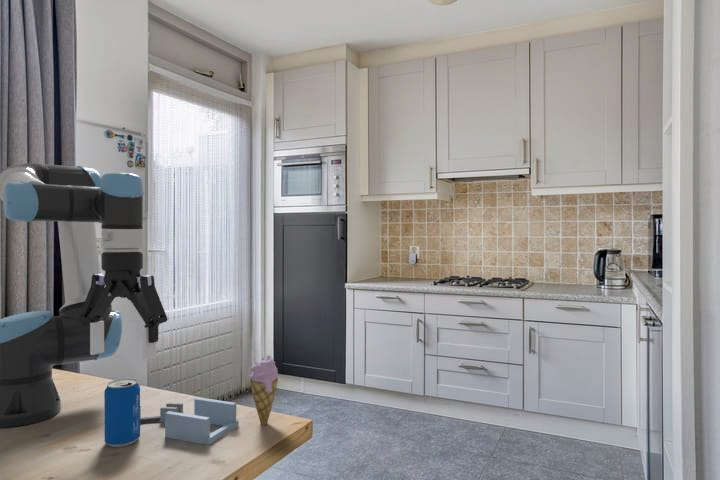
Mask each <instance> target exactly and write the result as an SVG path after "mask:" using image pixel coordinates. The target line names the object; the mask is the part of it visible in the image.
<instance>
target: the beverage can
mask: <svg viewBox="0 0 720 480" xmlns="http://www.w3.org/2000/svg"><path fill="white" fill-rule="evenodd" d="M103 398H104V402H103V403H104V407H103V408H104V409H103V410H104V444H107V445H108V446H110V447H112V448H113V447H114V448H123V447H126V446H130V445H133V444H134V443H135V442H136V441H137V440H138V439H139V438H140V437H141V423H140V406H141V386H140V384H139V383H138V380H137V379H135V378H120V379H115V380H112V381H109V382H107V384H106V387H105V389H104V397H103Z"/></svg>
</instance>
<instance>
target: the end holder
mask: <svg viewBox="0 0 720 480" xmlns="http://www.w3.org/2000/svg"><path fill="white" fill-rule="evenodd" d="M193 401H194V404H193V405H194V409H193V410H194V411H193V412H194V414H188V413H185V412H183V413H178V412H172V411H168V412H166V413H165V423H164V437H165V438H169V439H172V440H173V439H175V440H178V441H183V442H191V443H195V444H196V443H197V444H201V445H205V446H210V445H211V444H212V443H214V442H215V441H217V440H219V439H221V438H222V437H224V436H225V435H227V434H229V433H230V432H231V431H233V430H235V429H236V428H237V427H239V425H240V423H239V420H238V419H237V402H234V401H233V402H232V401H226V400H225V401H224V400H221V399H220V400H218V399H211V398H204V397H196V398H194V400H193ZM211 425H216V426H221V427H220V428H218V429H216V430H215V431H213V432H211Z"/></svg>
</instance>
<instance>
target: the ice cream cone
mask: <svg viewBox="0 0 720 480" xmlns="http://www.w3.org/2000/svg"><path fill="white" fill-rule="evenodd" d="M273 360H274V358H273V357H272V356H271V355H269V354H268V355H267V356H266V357H261V361H256V362H254V364H252V365H251V367H250V368H249V370H250V371H251V372H253V373H252V374H250V375H249V377H248V378H249V382H250V388H251V393H252V396H253V401H254V405H255V409H256V411H257V415H258V419H259V422H260V425H262V426H265V425H268V422H269V418H270V415H271V411H272V408H273V404H274V400H275V396H276V392H277V386H278V381H279V380H278V379H279V377H278V374H279V371H278V370H279V369H278V368H277V366H276V363H277V362H276V361H273Z"/></svg>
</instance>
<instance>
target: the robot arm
mask: <svg viewBox="0 0 720 480" xmlns="http://www.w3.org/2000/svg"><path fill="white" fill-rule="evenodd" d="M144 193H145V192H144V189H143V179H142V177H141V176H139V175H138V174H134V173H127V172H126V173H125V172H107V173H104V174H102V175H101V174H100V173H99V171H97V170H96V169H95V168H91V167H83V166H81V165H78V166H77V165H76V166H72V165H69V166H68V165H59V164H49V163H48V164H47V163H38V162H37V163H35V162H31V163H20V164H15V165H12V166H8V167H6V168H4V169H2V170H1V171H0V200H1V201H2V202H3V203H2V204H3V207H2V209H3V213H4V217H5V218H6V219H7V220H9V221H19V222H25V223H29V222H57V227H58V238H59V247H60V259H61V270H62V278H63V279H62V280H63V281H62V282H63V289H64V300H65V303H64V304H63V305H62V306H61V307H60V308H59V310H58V314H59V315H55V316H54V314H53V313H52V311H50V310H38V311H37V310H35V311H27V312H22V313H18V314H14V315H13V314H12V315H8V316H5V317H3V318H0V428H11V427H18V426H26V425H30V424H34V423H37V422H41V421H44V420H47V419H49V418H51V417H53V416H56V415H58V414H59V413H60V411H61V410H62V408H61V407H62V401H61V397H60V396H59V392H58V390H57V387H56V384H55V383H54V380H53V367H55V366H60V365H67V364H74V363H80V362H81V363H83V362H87V361H93V360H94V361H98V360H101V359H106V358H110V357H112V356H114V355H115V353H117V351H118V349H119V347H120V343H121V340H122V339H121V338H122V332H123V331H122V330H123V319H122V315H121V312H120V311H119V310H116V309H113V308H112V303H113V301H114V300H115V298H125V299H127V300H128V301H130V302H131V303H132V305H133V306H134V308H135V309H136V310H135V311H137V312H138V315H139V316H140V317H141V319H142V320H143V322H144V323H145V324H144V326H143V327H142V361H145V362H146V361H150V360H152V359H155V358H157V342H158V341H159V326H160V325H161V324H163V323H166V322H168V317H167V314H166V312H165V309H164V306H163V304H162V301H161V299H160V296H159V294H158V292H157V288H156V285H155V277H154V275H152V274H148V275H141V270H142V269H144V264H143V263H144V258H143V257H144V256H143V252H142V251H140V250H142V249H143V248H144V243H143V236H144V234H143V233H144V232H143V230H144V229H143V219H144V217H143V214H144V213H143V212H144V211H143V210H144V207H143V202H144V200H143V199H144V198H143V196H144ZM95 223H99V224H101V225H100V226H101V249H102V250H104V252H102V253H101V256H99V248H98V240H97V231H96V224H95ZM100 258H101V261H100ZM100 263H101V264H100ZM101 270H102V271H104V273H101Z"/></svg>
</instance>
